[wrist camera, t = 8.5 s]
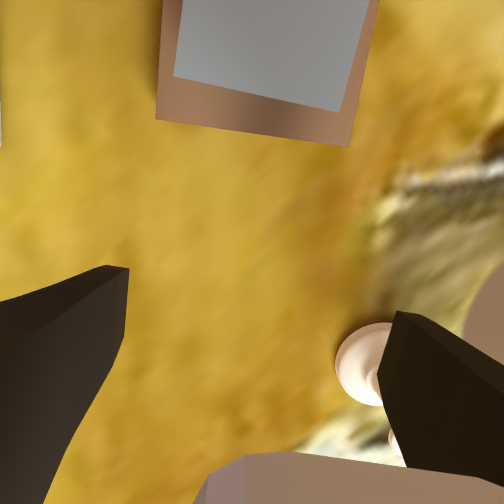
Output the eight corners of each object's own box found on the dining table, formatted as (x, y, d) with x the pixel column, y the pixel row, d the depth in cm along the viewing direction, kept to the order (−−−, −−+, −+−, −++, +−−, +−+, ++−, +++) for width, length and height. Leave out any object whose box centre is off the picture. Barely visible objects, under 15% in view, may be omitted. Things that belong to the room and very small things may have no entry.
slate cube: (195, 75, 18) (173, 76, 13) (217, -73, 16) (201, -134, 11) (318, 103, 18) (339, 113, 13) (353, -40, 16) (392, -85, 12)
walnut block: (166, 115, 21) (155, 119, 18) (181, -93, 18) (170, -120, 16) (338, 140, 21) (348, 147, 19) (378, -61, 18) (396, -82, 16)
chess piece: (404, 306, 23) (503, 455, 14) (439, 376, 25) (549, 553, 16) (319, 346, 24) (359, 511, 15) (357, 411, 26) (415, 599, 16)
